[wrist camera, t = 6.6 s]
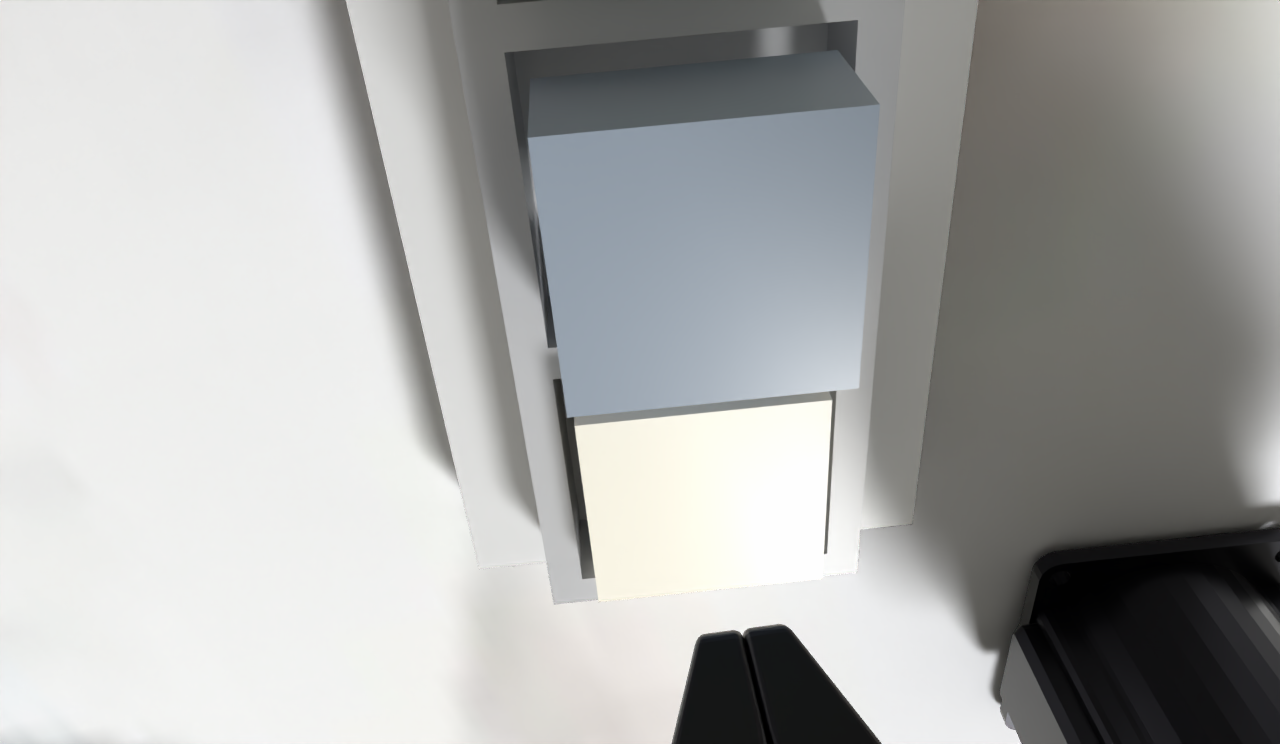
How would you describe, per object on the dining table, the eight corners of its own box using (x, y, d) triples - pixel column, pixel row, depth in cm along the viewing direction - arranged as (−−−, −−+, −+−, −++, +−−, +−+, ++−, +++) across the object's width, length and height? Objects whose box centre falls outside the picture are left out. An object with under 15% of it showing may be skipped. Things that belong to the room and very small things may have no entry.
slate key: (837, 49, 13) (880, 104, 11) (825, 311, 15) (858, 388, 14) (530, 78, 13) (526, 137, 11) (565, 337, 15) (567, 417, 13)
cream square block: (804, 329, 17) (832, 399, 15) (798, 502, 19) (822, 579, 18) (571, 353, 17) (574, 425, 15) (594, 523, 19) (598, 602, 18)
